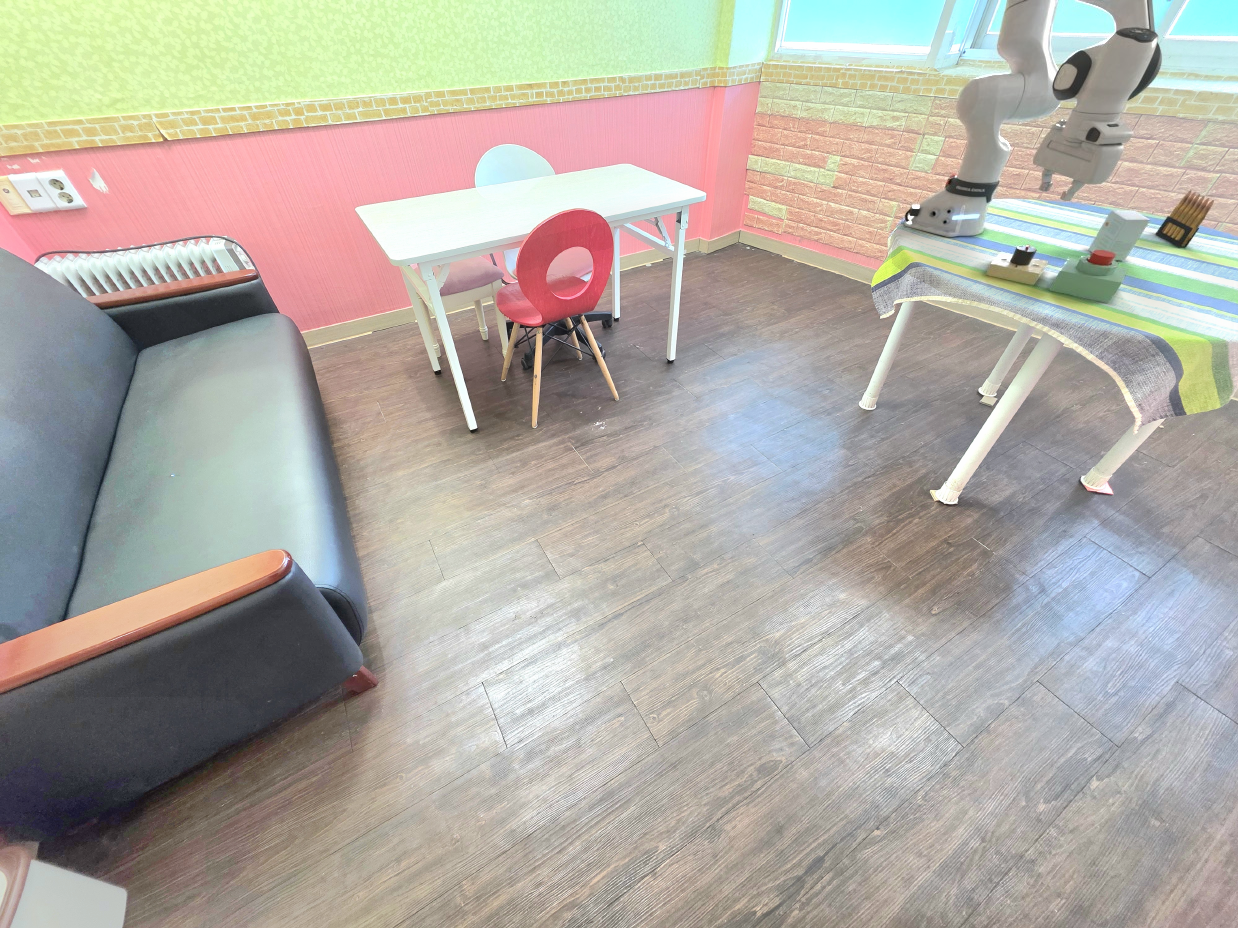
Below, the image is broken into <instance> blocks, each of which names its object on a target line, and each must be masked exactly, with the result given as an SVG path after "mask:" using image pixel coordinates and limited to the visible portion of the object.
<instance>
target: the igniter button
mask: <svg viewBox="0 0 1238 928" xmlns="http://www.w3.org/2000/svg"><path fill="white" fill-rule="evenodd" d="M1089 256H1090V257H1089V259H1088V260H1087V261H1088V262H1090V263H1092V264H1096V265H1101V266H1108V265H1110V264H1111V262H1112V261H1113V259H1114V258H1115V256H1116V254H1115V253H1113V252H1110V251H1106V250H1094V251H1093V252H1091V253H1090V255H1089Z"/></svg>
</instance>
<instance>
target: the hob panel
mask: <svg viewBox="0 0 1238 928" xmlns="http://www.w3.org/2000/svg"><path fill="white" fill-rule="evenodd" d="M1013 254H1014V253H1009V252H1003V251H1001V252H1000V253H999V254H998V255H997V256H996V257H995V258H994V259H993V261H992V262H991V263H990V264H989V267H988V269H987V271H986V273H985V276H990V277H994V278H999V279H1002V280H1008V281H1012V282H1017V283H1021V284H1026V285H1031V286H1034V285H1035V284H1036V283H1037V281H1038V280H1039V278H1040V277H1041V276H1042V274H1043V273H1044V271H1045V269H1046V267H1047V265H1048V263H1049V260H1046V259H1040V258H1039V259H1038V258H1034V257H1033V259H1032V261H1031V262H1030V264H1029V265H1016V264H1013V263H1011V262H1010V260H1011V258H1012V256H1013Z"/></svg>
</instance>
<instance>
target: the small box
mask: <svg viewBox="0 0 1238 928" xmlns="http://www.w3.org/2000/svg"><path fill="white" fill-rule="evenodd" d="M1150 222H1151V219H1150V218H1148V217H1146V216H1144V215H1143V214H1141V213H1140V212H1138V211H1136V210H1125V209H1124V210H1119V209H1118V210H1115V209H1114V210H1113V209H1112V210H1110V211H1109V213H1108V215H1107V216H1106V218H1105V219H1104V221H1103V223H1102V225H1101V227H1100V229H1099V230H1098V231H1097V233H1096V235H1095V237H1094V239H1093V241H1092V242H1091V244H1090V246H1089V247H1088V251H1089V252H1091V253H1092V252H1093V251H1094V250H1106V251H1110V252H1113V253H1115V254H1116V256H1115V258H1114V259H1113V260H1115V261H1125V260H1126V259H1127V258H1128V256H1129V255H1130V253H1131V251H1132V250H1133V248H1134V247H1135V246H1136V244H1137V242H1138V241H1139V239H1140V237H1141V236H1142V234H1143V233H1144V231H1145V230H1146V228H1147V226H1148V225H1149V223H1150Z"/></svg>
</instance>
